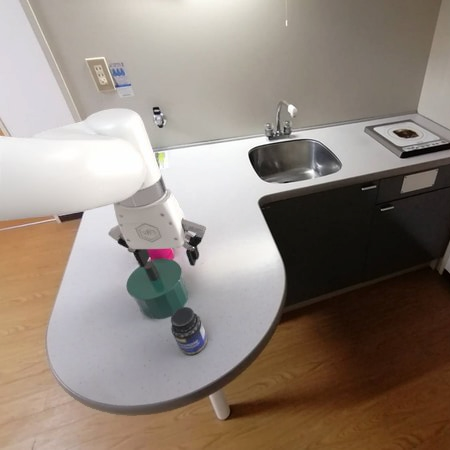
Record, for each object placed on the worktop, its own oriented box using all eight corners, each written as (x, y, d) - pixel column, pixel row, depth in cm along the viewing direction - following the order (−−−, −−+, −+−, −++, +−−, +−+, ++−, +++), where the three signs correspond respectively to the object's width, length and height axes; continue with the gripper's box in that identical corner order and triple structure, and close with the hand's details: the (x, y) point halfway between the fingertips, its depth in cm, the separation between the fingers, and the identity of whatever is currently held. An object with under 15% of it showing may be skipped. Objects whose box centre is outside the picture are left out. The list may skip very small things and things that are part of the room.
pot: (157, 327, 74) (145, 307, 68) (133, 302, 79) (120, 281, 74) (197, 296, 80) (189, 275, 75) (172, 275, 86) (163, 254, 81)
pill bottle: (179, 359, 68) (165, 332, 61) (181, 334, 72) (167, 307, 65) (208, 352, 69) (197, 325, 62) (207, 328, 73) (197, 301, 66)
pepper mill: (180, 255, 92) (160, 201, 79) (160, 270, 88) (136, 216, 75) (164, 246, 95) (143, 193, 82) (144, 260, 91) (118, 206, 78)
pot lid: (145, 311, 68) (136, 296, 64) (118, 283, 74) (108, 267, 71) (193, 277, 75) (187, 261, 72) (164, 254, 82) (158, 238, 78)
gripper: (74, 204, 47) (118, 277, 58) (187, 201, 47) (209, 274, 58) (98, 178, 53) (133, 249, 64) (198, 176, 53) (217, 247, 64)
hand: (170, 261), depth 61 cm, fingers open, 9 cm apart
